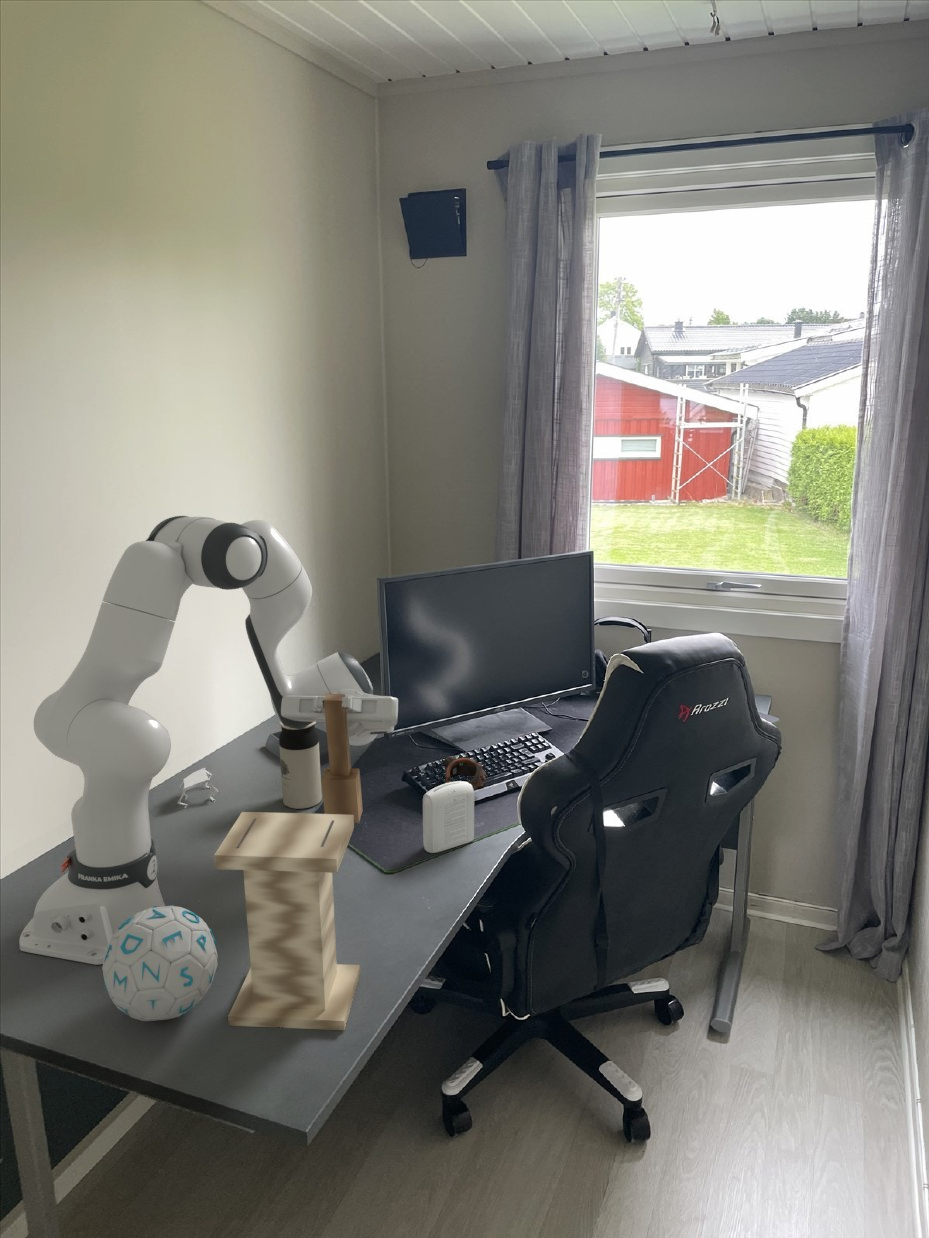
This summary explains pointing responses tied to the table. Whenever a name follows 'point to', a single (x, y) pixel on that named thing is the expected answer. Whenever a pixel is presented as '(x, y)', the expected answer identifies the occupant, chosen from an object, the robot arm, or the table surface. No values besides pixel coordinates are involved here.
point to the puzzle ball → (160, 963)
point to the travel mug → (300, 766)
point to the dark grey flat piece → (274, 747)
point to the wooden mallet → (340, 764)
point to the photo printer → (448, 816)
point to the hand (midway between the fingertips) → (332, 701)
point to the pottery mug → (464, 770)
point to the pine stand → (290, 919)
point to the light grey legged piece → (196, 783)
